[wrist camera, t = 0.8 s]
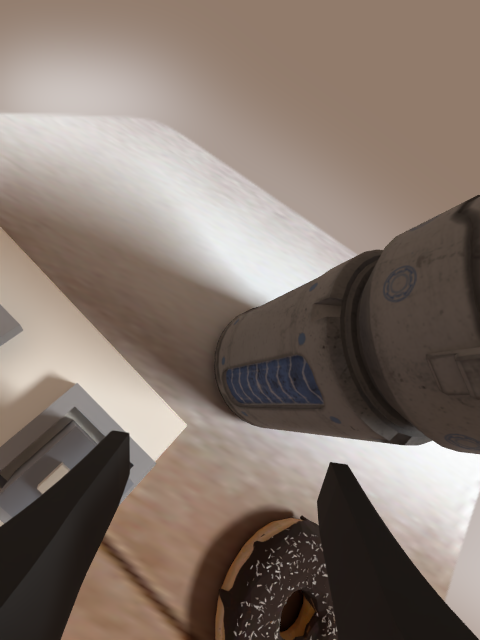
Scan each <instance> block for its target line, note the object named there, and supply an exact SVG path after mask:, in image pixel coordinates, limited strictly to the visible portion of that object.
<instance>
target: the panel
mask: <svg viewBox="0 0 480 640" xmlns="http://www.w3.org/2000/svg"><path fill="white" fill-rule="evenodd" d="M72 420H74V421H75V422H76V423H77V424H78V425H79V426H80V427H81V428H82V429H83V430H84V431H85V432H86V433H87V434H88V435H89V436H90V437H91V438H92V439H93V440H94V441H95V442H96V443H97V444H98V443H99V442H100V441H101V440H102V439H103V438H104V437H105V436H106V435H107V434H108V433H109V432H111V431H112V430H114V431H121V432H128V433H130V475H129V478H130V479H131V481H132V482H133V483H134V484H133V486H132V487H131V488H130V489H129V490H128V491H127V492H126V493H125V494H124V496H123V497H122V498H121V501H120V503H119V505H120V504H121V502H122V501H123V500H124V499H125V498H126V497H127V496H128V495H129V493H130V492H131V491H132V490H133V489H134V488H135V487H136V486H137V485H138V483H139V482H140V481H141V480H142V479H143V478H144V477H145V476H146V475H147V473H148V472H149V471H150V470H151V469H152V468H153V467H154V466H155V464H156V462H155V461H156V460H157V459H158V457H159V456H160V455H161V454H162V453H163V452H164V451H165V450H166V449H167V447H168V446H169V445H170V444H171V443H172V442H173V441H174V440H175V439H176V438H177V436H178V435H179V434H180V433H181V432H182V431H183V430H184V429H185V428H186V426H187V425H186V424H185V422H184V421H183V420H182V419H181V418H180V417H179V416H178V415H177V414H176V413H175V412H174V411H173V410H172V409H171V408H170V407H169V405H168V404H167V403H166V402H165V401H164V400H163V399H162V398H161V397H160V396H159V395H158V394H157V393H156V392H155V391H154V389H153V388H152V387H151V386H150V385H149V384H148V383H147V382H146V381H145V380H144V379H143V378H142V377H141V376H140V375H139V374H138V372H137V371H136V370H135V369H134V368H133V367H132V366H131V365H130V364H129V363H128V362H127V361H126V360H125V359H124V358H123V356H122V355H121V354H120V353H119V352H118V351H117V350H116V349H115V348H114V347H113V346H112V345H111V344H110V343H109V342H108V340H107V339H106V338H105V337H104V336H103V335H102V334H101V333H100V332H99V331H98V330H97V329H96V328H95V327H94V326H93V325H92V323H91V322H90V321H89V320H88V319H87V318H86V317H85V316H84V315H83V314H82V313H81V312H80V311H79V310H78V309H77V307H76V306H75V305H74V304H73V303H72V302H71V301H70V300H69V299H68V298H67V297H66V296H65V295H64V294H63V293H62V292H61V290H60V289H59V288H58V287H57V286H56V285H55V284H54V283H53V282H52V281H51V280H50V279H49V278H48V277H47V276H46V274H45V273H44V272H43V271H42V270H41V269H40V268H39V267H38V266H37V265H36V264H35V263H34V262H33V261H32V260H31V258H30V257H29V256H28V255H27V254H26V253H25V252H24V251H23V250H22V249H21V248H20V247H19V246H18V245H17V244H16V243H15V241H14V240H13V239H12V238H11V237H10V236H9V235H8V234H7V233H6V232H5V231H4V230H3V229H2V228H1V227H0V491H1V489H2V488H3V487H4V485H5V484H6V483H7V481H8V480H9V479H10V477H11V476H12V475H13V473H14V472H15V471H16V470H17V469H18V468H19V467H20V466H21V465H22V464H23V463H25V462H26V461H27V460H28V459H29V458H30V457H31V456H32V455H34V454H35V453H36V452H37V451H38V450H39V449H40V448H41V447H43V446H44V445H45V444H46V443H47V442H48V441H49V440H50V439H52V438H53V437H54V436H55V435H56V434H57V433H58V432H59V431H61V430H62V429H63V428H64V427H65V426H66V425H67V424H68V423H70V422H71V421H72ZM11 518H12V517H11V516H10V515H9V514H8V513H7V512H6V511H5V510H4V509H2V508H1V507H0V526H2V525H3V524H4V523H6V522H7V521H8V520H10V519H11Z"/></svg>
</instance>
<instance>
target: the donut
mask: <svg viewBox="0 0 480 640" xmlns="http://www.w3.org/2000/svg"><path fill="white" fill-rule="evenodd" d="M300 519H301V520H300ZM300 519H294V518H288V519H283V520H278V521H274V522H270V523H269V524H267V525H266V526H264V527H263V528H261V529H260V530H258V531H257V532H256V533H255V534H254V535H253V536H252V537H251V538H250V539H249V540H248V541H247V542H246V543H245V545H244V546H243V547H242V549H241V550H240V552H239V553H238V555H237V557H236V558H235V560H234V561H233V563H232V565H231V567H230V569H229V570H228V573H227V575H226V578H225V580H224V583H223V585H222V588H221V589H220V590H219V598H218V605H217V612H216V619H215V640H338V636H337V627H336V620H335V614H334V608H333V602H332V597H331V592H330V586H329V581H328V576H327V571H326V565H325V560H324V555H323V549H322V544H321V538H320V532H319V526H318V525H317V524H316V523H314V522H311V521H309V520H308V519H306V518H305V517H303V516H301V517H300ZM298 589H301V590H302V592H303V594H304V602H303V606H302V608H301V611H300V614H299V616H298V618H297V620H296V621H295V623H294V624H293V625H292V626H291V627H290V628H289V629H288V630H286V631H283V632H280V630H279V628H280V627H279V625H280V620H281V619H280V617H281V613H282V609H283V607H284V605H285V604H286V601H287V599H288V598H289V597H290V596H291V595H292V594H293V593H294V592H295V591H297V590H298Z"/></svg>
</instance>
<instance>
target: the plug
mask: <svg viewBox="0 0 480 640" xmlns="http://www.w3.org/2000/svg"><path fill="white" fill-rule="evenodd" d="M96 445H97V443H96V442H95V441H94V440H93V439H92V438H91V437H90V436H89V435H88V434H87V433H86V432H85V431H84V430H83V429H82V428H81V427H80V426H79V425H78V424H77V423H76V422H75V421H74V420H72V421H71V422H70V423H68V424H67V425H66V426H65V427H64V428H63V429H62V430H61V431H59V432H58V433H57V434H56V435H55V436H54V437H53V438H52V439H50V440H49V441H48V442H47V443H46V444H45V445H44V446H43V447H41V448H40V449H39V450H38V451H37V452H36V453H35V454H34V455H32V456H31V457H30V458H29V459H28V460H27V461H26V462H25V463H23V464H22V465H21V466H20V467H19V468H18V469H17V470H16V471H15V472H14V473H13V475H12V476H11V477H10V479H9V480H8V481H7V483H6V484H5V485H4V487H3V488H2V489H1V491H0V507H1V508H2V509H4V510H5V511H6V512H7V513H8V514H9V515H10V516H11V517H12V518H13V517H14V516H15V515H17V514H18V513H19V512H21V511H22V510H23V509H25V508H26V507H27V506H28V505H30V504H31V503H32V502H33V501H35V500H36V499H37V498H38V497H40V496H41V495H42V494H43V493H44V492H46V491H47V490H48V489H49V488H50V487H52V486H53V485H54V484H55V483H56V482H58V481H59V480H60V479H61V478H62V477H63V476H64V475H65V474H67V473H68V472H69V471H70V470H71V469H72V468H73V467H74V466H75V465H76V464H78V463H79V462H80V461H81V460H82V459H83V458H84V457H85V456H86V455H87V454H88V453H89V452H90V451H91V450H92V449H93V448H94V447H95V446H96ZM133 484H134V483H133V482H132V481H131V479H130V478H128V481H127V484H126V487H125V490H124V492H123V495H122V497H123V496H124V494H125V493H126V492H127V491H128V490H129V489H130V488H131V487H132V486H133Z"/></svg>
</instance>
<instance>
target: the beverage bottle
mask: <svg viewBox="0 0 480 640" xmlns="http://www.w3.org/2000/svg"><path fill="white" fill-rule="evenodd" d="M214 368H215V377H216V381H217V385H218V388H219V391H220V393H221V395H222V397H223V399H224V401H225V403H226V404H227V405H228V406H229V408H230V409H231V410H232V411H233V412H234V413H235V414H236V415H237V416H238V417H239V418H241V419H242V420H244V421H246V422H247V423H249V424H251V425H254V426H258V427H261V428H269V429H277V430H285V431H293V432H301V433H309V434H317V435H325V436H333V437H342V438H350V439H358V440H366V441H374V442H382V443H390V444H398V445H421V444H424V443H427V442H430V441H432V440H433V441H434V442H436V443H437V444H439V445H440V446H442V447H445V448H448V449H451V450H454V451H457V452H465V453H474V454H480V195H477V196H475V197H473V198H471V199H470V200H467V201H465V202H464V203H461V204H460V205H458V206H456V207H454V208H452V209H450V210H448V211H446V212H444V213H442V214H440V215H438V216H436V217H434V218H432V219H430V220H428V221H426V222H424V223H422V224H420V225H418V226H416V227H414V228H412V229H410V230H408V231H406V232H404V233H402V234H400V235H398V236H396V237H395V238H394V239H393V240H392V241H391V242H390V243H389V244H388V245H387V246H386V247H385V248H384V250H373V251H367V252H364V253H362V254H360V255H358V256H356V257H354V258H352V259H350V260H348V261H346V262H344V263H342V264H340V265H338V266H336V267H334V268H332V269H330V270H329V271H328V272H326V273H325V274H323V275H322V276H320V277H318V278H316V279H314V280H312V281H310V282H308V283H306V284H304V285H302V286H300V287H298V288H296V289H294V290H292V291H290V292H288V293H286V294H284V295H282V296H280V297H278V298H276V299H274V300H272V301H270V302H268V303H266V304H264V305H262V306H260V307H256V308H253V309H251V310H249V311H247V312H245V313H243V314H241V315H239V316H237V317H236V318H235V319H234V320H232V321H231V322H230V323H229V324H228V326H227V327H226V328H225V330H224V331H223V333H222V335H221V337H220V339H219V341H218V344H217V348H216V352H215V362H214Z"/></svg>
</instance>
